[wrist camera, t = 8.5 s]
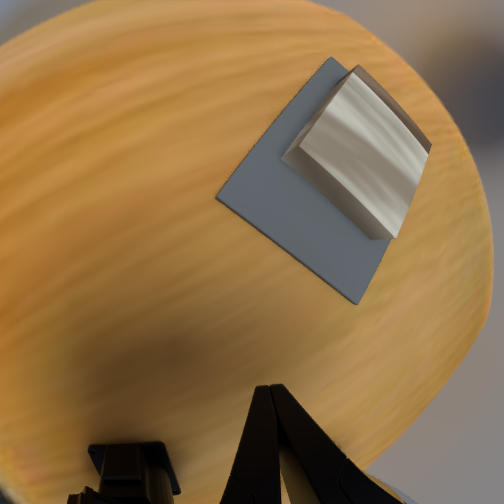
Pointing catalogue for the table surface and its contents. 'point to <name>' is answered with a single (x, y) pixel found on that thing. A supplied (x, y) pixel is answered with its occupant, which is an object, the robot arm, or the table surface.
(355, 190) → the grey-brown flat block
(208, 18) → the table surface
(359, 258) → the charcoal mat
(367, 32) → the table surface
